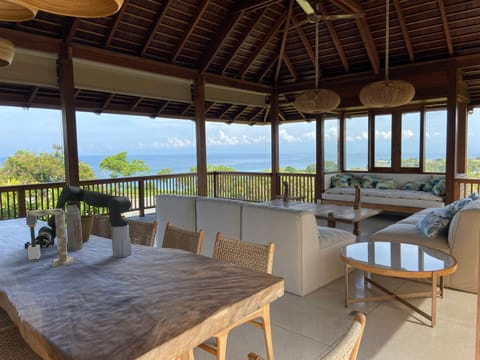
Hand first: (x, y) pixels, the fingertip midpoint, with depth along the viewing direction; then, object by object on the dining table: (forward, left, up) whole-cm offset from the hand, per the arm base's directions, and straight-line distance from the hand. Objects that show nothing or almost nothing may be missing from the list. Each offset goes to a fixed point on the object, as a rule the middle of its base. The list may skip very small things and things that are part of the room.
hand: (37, 247), depth 181 cm
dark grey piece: (-6, +6, -5) cm, 10 cm away
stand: (-12, +1, -8) cm, 14 cm away
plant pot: (+10, -38, -8) cm, 40 cm away
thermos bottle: (0, -24, -8) cm, 25 cm away
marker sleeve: (-6, +6, -3) cm, 9 cm away
